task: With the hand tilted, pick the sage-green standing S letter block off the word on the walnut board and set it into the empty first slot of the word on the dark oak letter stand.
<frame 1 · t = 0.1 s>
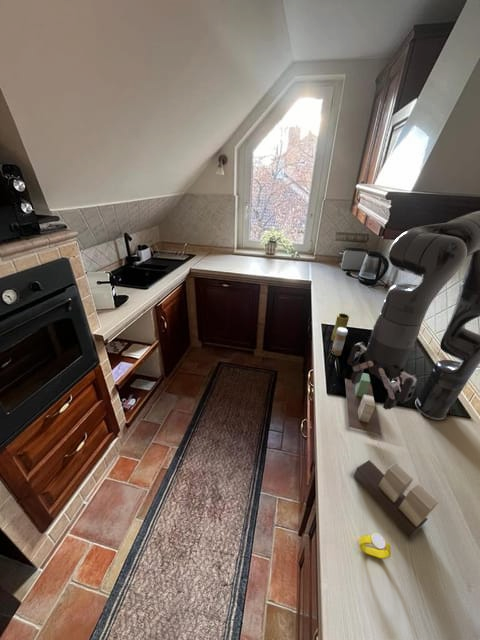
hand: (370, 394, 59), 29 cm above the worktop, tool pointing down, fingers open, 8 cm apart
vase: (336, 340, 130), on the worktop
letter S: (359, 392, 98), point 1 cm above the worktop, touching near board
watch: (370, 552, 57), on the worktop
near board: (360, 405, 93), on the worktop
letter stand: (384, 499, 66), on the worktop
sprinkles bottle: (336, 353, 121), on the worktop
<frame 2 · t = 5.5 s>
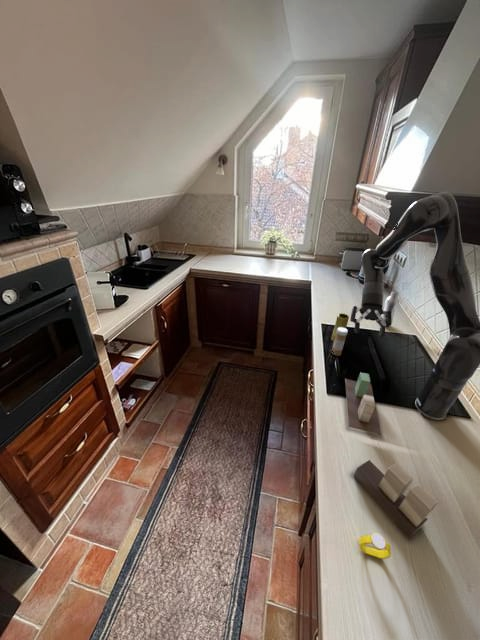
hand: (369, 334, 97), 21 cm above the worktop, tool tilted 45°, fingers open, 8 cm apart
nothing on the worktop moved.
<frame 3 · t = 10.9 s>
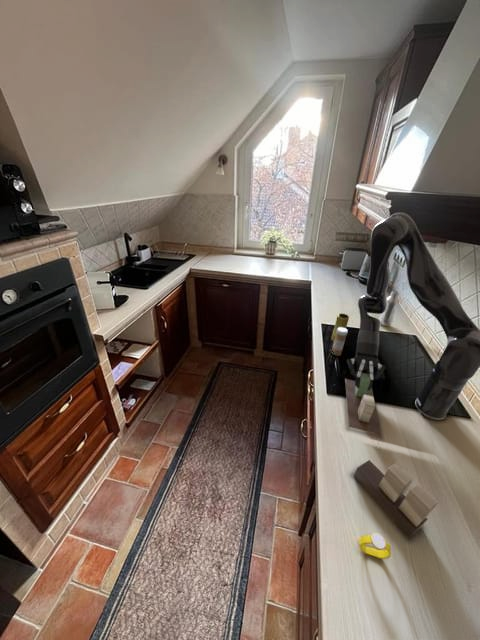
hand: (362, 388, 94), 5 cm above the worktop, tool tilted 45°, fingers closed on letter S, 3 cm apart
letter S: (359, 392, 98), point 1 cm above the worktop, touching gripper, near board
everything else where it was.
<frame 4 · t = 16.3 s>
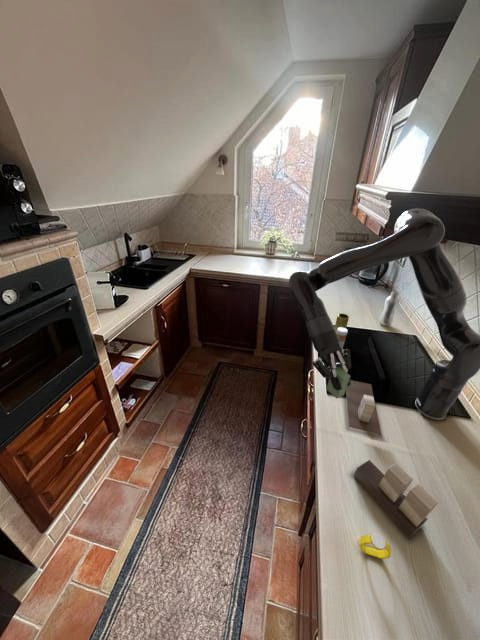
hand: (343, 387, 74), 19 cm above the worktop, tool tilted 45°, fingers closed on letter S, 3 cm apart
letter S: (334, 392, 78), point 15 cm above the worktop, touching gripper
everything else where it was.
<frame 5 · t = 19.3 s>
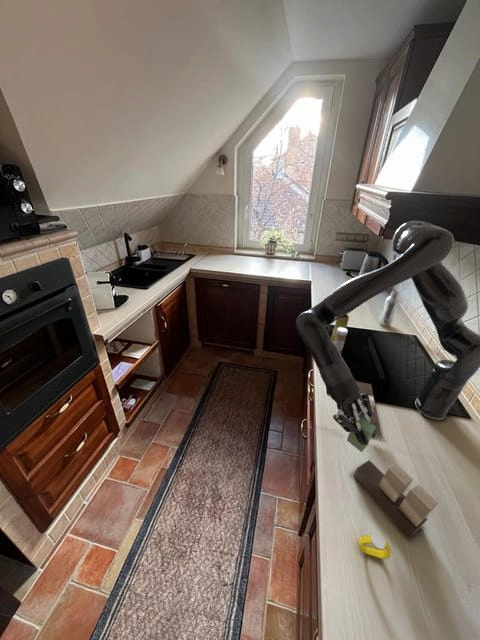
hand: (368, 439, 66), 14 cm above the worktop, tool tilted 45°, fingers closed on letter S, 3 cm apart
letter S: (356, 443, 69), point 10 cm above the worktop, touching gripper
everything else where it was.
when the fingers open (8 cm above the worktop, at t = 21.6 s): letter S stays where it is, resting on letter stand.
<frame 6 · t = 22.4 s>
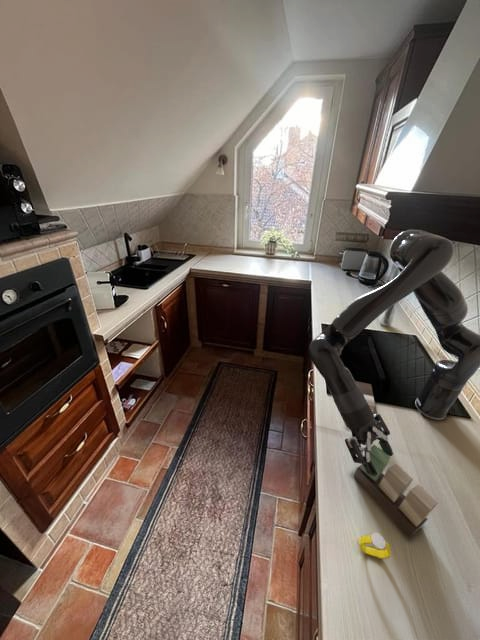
hand: (381, 464, 65), 9 cm above the worktop, tool tilted 45°, fingers open, 8 cm apart
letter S: (370, 471, 68), point 4 cm above the worktop, touching letter stand
everything else where it was.
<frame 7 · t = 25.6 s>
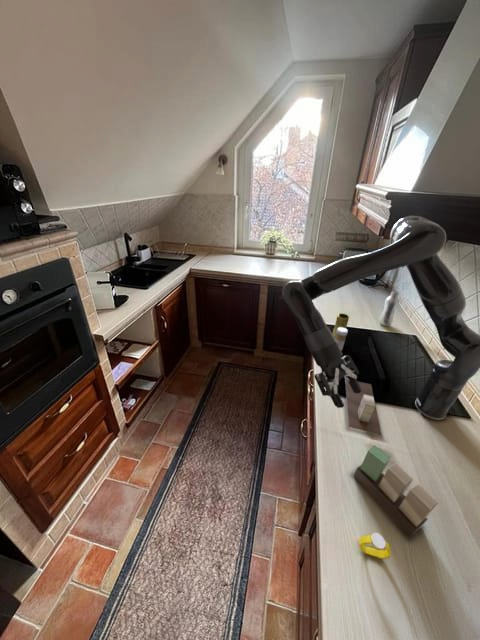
hand: (350, 399, 69), 20 cm above the worktop, tool tilted 45°, fingers open, 8 cm apart
nothing on the worktop moved.
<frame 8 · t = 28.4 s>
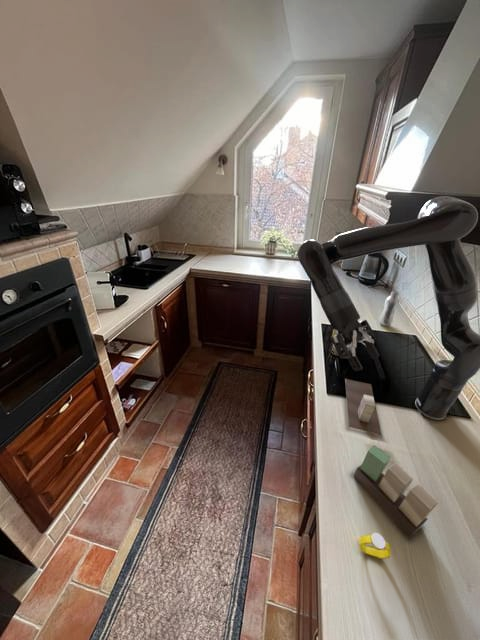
hand: (367, 363, 66), 31 cm above the worktop, tool tilted 45°, fingers open, 8 cm apart
nothing on the worktop moved.
at the end: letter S 0.1 cm from the target spot on the letter stand, point 4.0 cm above the letter stand's base; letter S tilted 0° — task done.
